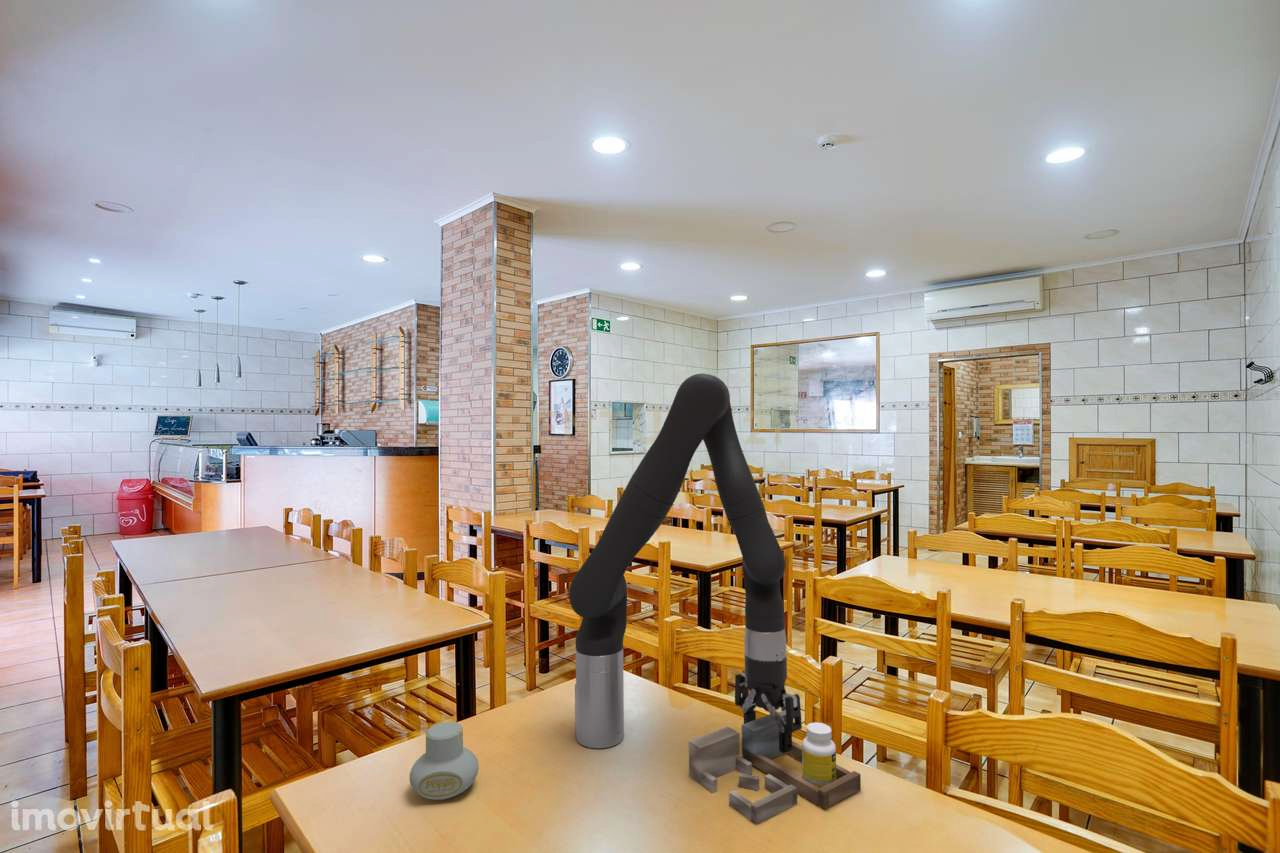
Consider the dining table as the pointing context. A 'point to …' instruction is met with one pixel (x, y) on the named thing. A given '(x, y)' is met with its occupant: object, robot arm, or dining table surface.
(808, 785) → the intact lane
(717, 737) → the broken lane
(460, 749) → the air freshener
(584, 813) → the dining table surface
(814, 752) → the supplement bottle
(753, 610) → the robot arm
